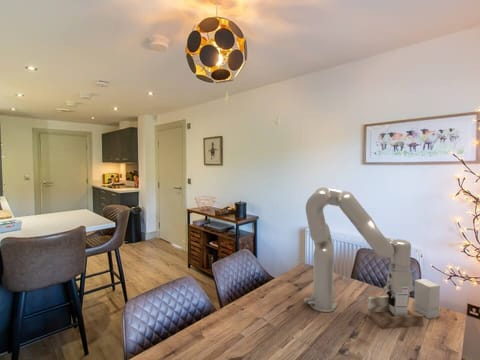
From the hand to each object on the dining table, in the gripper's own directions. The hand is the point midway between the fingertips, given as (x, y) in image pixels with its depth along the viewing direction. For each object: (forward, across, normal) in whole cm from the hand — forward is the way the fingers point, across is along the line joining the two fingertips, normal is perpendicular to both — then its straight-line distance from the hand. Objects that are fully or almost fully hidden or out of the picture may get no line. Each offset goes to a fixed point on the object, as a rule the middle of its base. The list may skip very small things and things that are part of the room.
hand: (398, 303), depth 123 cm
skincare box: (+8, +17, +2) cm, 19 cm away
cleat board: (+7, -2, 0) cm, 8 cm away
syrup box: (+5, 0, 0) cm, 5 cm away
